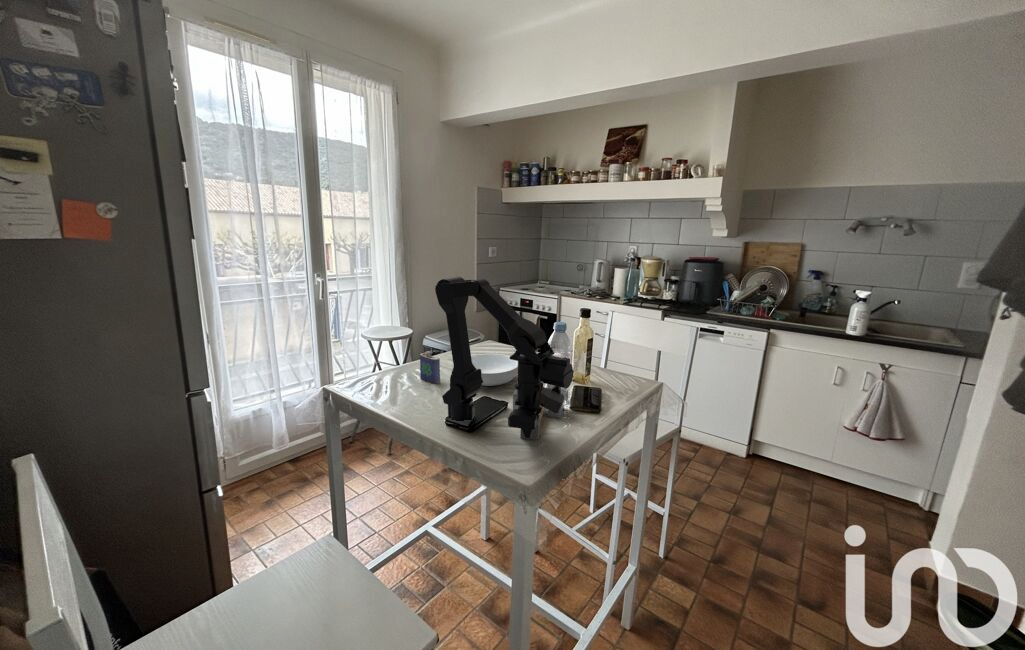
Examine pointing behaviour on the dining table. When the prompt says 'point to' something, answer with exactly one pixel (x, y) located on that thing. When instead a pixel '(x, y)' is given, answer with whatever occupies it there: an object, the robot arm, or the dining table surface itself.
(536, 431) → the plug
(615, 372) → the dining table surface
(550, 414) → the grey arch block
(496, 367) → the serving bowl
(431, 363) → the flask
